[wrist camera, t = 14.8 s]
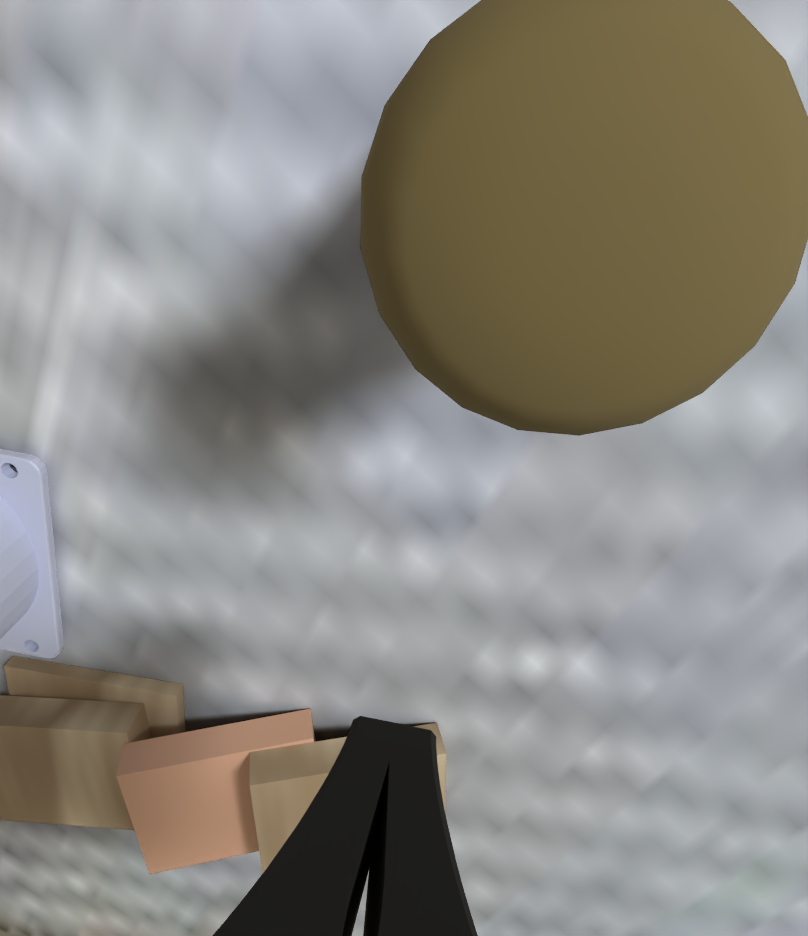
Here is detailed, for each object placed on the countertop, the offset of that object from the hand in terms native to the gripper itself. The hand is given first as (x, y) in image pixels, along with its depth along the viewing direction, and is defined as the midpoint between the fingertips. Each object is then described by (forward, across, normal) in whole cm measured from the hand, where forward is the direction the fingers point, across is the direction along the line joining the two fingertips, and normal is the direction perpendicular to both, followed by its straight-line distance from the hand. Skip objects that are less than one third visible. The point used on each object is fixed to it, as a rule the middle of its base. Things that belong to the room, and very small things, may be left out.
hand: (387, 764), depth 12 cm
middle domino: (+9, +8, +13) cm, 18 cm away
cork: (+10, -1, -9) cm, 14 cm away
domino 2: (+9, +2, +12) cm, 15 cm away
